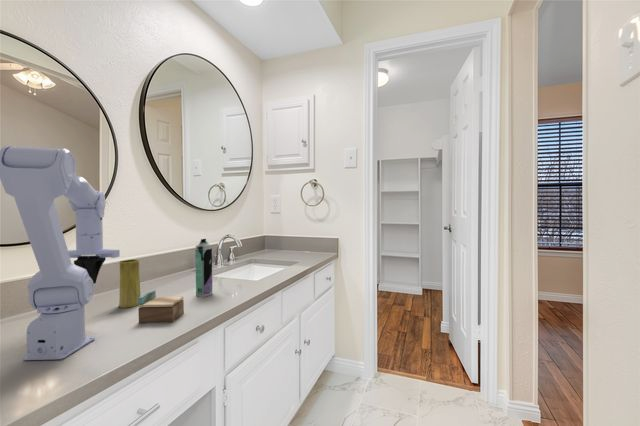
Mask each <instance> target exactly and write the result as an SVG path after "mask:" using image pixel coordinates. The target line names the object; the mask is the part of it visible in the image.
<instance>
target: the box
mask: <svg viewBox="0 0 640 426" xmlns="http://www.w3.org/2000/svg"><path fill="white" fill-rule="evenodd" d="M184 309H185V305H184V299H182V300H181V301H179V302H178V303H177V304H175V305H174V306H172V307H138V324H153V323H154V324H159V323H161V324H162V323H173V322H175V321H177V319H179V317H181V316H182V315H184V312H185V310H184Z"/></svg>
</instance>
